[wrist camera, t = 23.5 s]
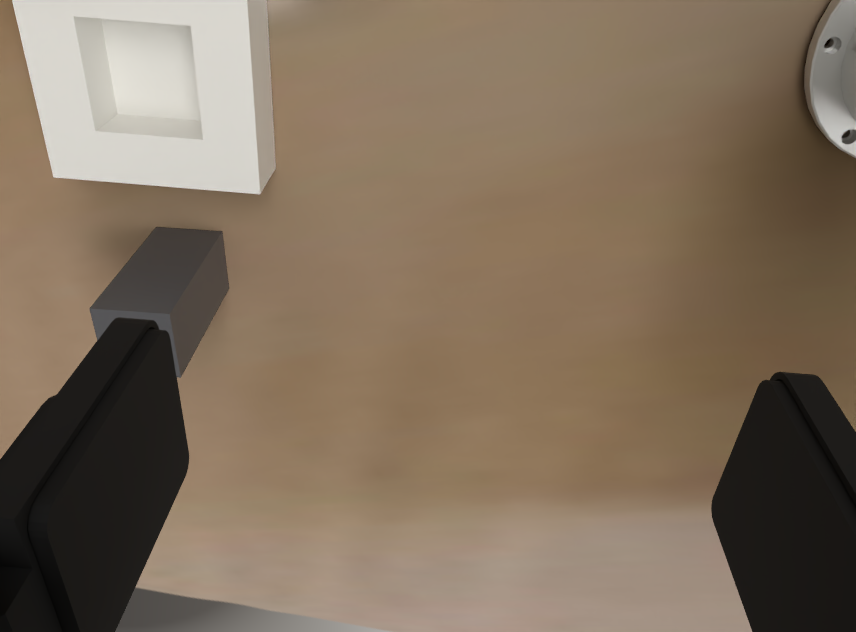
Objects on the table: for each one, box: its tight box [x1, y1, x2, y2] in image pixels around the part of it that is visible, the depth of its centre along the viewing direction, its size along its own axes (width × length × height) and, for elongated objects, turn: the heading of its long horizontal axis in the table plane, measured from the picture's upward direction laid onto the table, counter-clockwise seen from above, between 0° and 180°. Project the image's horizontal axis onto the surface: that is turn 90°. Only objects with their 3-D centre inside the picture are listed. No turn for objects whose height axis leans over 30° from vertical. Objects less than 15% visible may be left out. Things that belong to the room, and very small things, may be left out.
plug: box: [90, 227, 229, 378], centre depth 45 cm, size 4×4×10 cm
